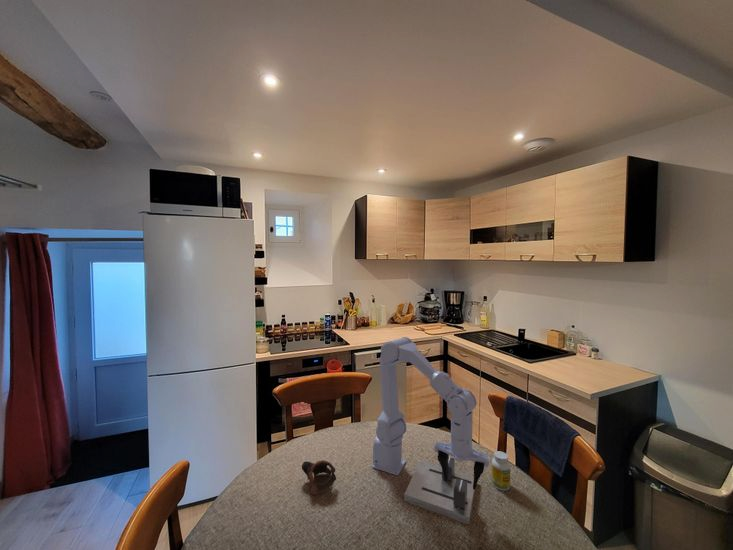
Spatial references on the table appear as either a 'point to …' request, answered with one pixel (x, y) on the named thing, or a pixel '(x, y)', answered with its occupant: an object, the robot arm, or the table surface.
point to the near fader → (460, 493)
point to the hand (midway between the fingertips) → (460, 482)
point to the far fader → (450, 468)
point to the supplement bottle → (500, 471)
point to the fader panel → (439, 491)
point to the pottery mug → (317, 469)
